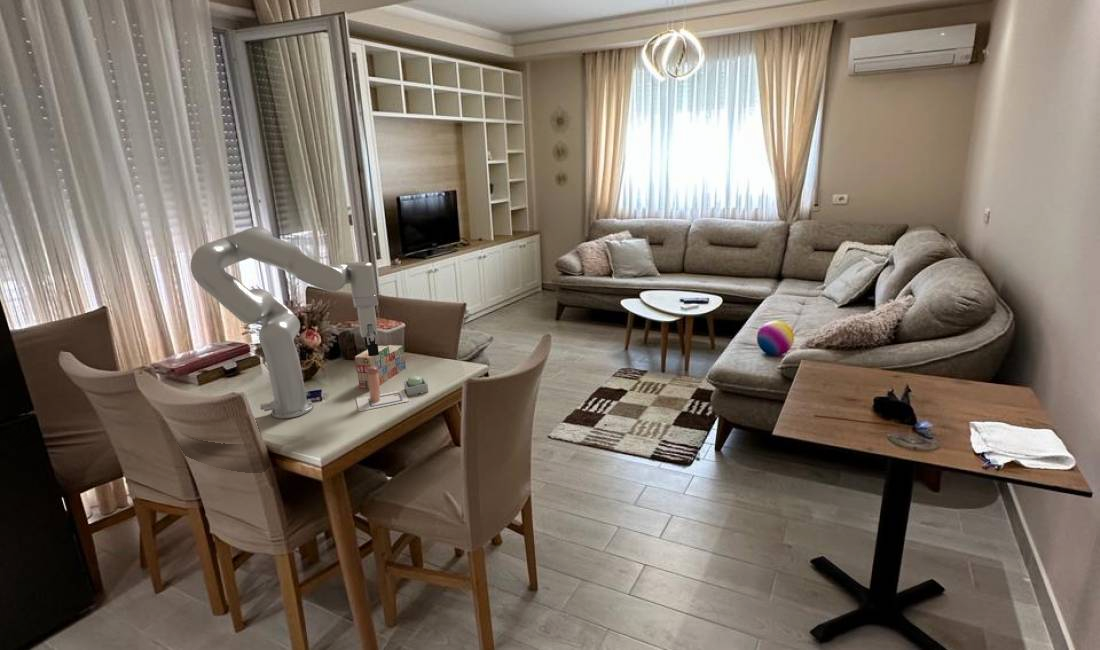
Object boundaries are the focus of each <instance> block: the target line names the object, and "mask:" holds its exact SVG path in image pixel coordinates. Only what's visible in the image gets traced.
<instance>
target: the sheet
mask: <svg viewBox="0 0 1100 650" xmlns="http://www.w3.org/2000/svg"><path fill="white" fill-rule="evenodd" d="M355 400H356V405H357V409H358V412H365V411H369V410H375V409H380V408H384V407H390V406H394V404H395V405H400V404H404V402H405V403H408V402H409V398H408V395H407V393H406V391H405V389H400V390H394V391H389V392H385V393H380V401H378V402H371V401H370V395H369V396H364V397H359V398H356V399H355ZM399 403H400V404H399ZM409 403H410V402H409Z"/></svg>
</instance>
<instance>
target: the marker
mask: <svg viewBox="0 0 1100 650" xmlns="http://www.w3.org/2000/svg"><path fill="white" fill-rule="evenodd" d="M367 371H368V379H369V389H368V390H369V396H370V401H371V402H378V401H380V394H381V393H380V391H381V390H380V386H379V378H378V367H376V366H372V367H368V368H367Z"/></svg>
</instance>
